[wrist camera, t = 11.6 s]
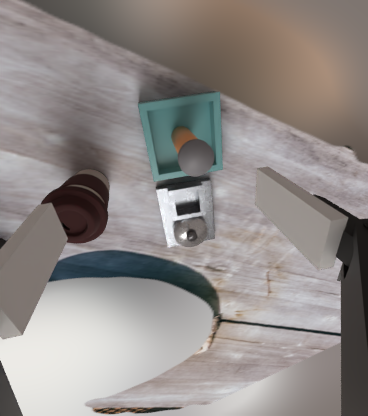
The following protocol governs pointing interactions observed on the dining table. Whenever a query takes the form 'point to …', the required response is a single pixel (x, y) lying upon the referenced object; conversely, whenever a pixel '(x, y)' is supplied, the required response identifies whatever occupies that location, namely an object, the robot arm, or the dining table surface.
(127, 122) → the dining table surface
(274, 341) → the dining table surface
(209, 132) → the tray
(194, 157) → the pin
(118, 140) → the dining table surface
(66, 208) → the coffee cup
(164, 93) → the dining table surface
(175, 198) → the silver rectangular stand
